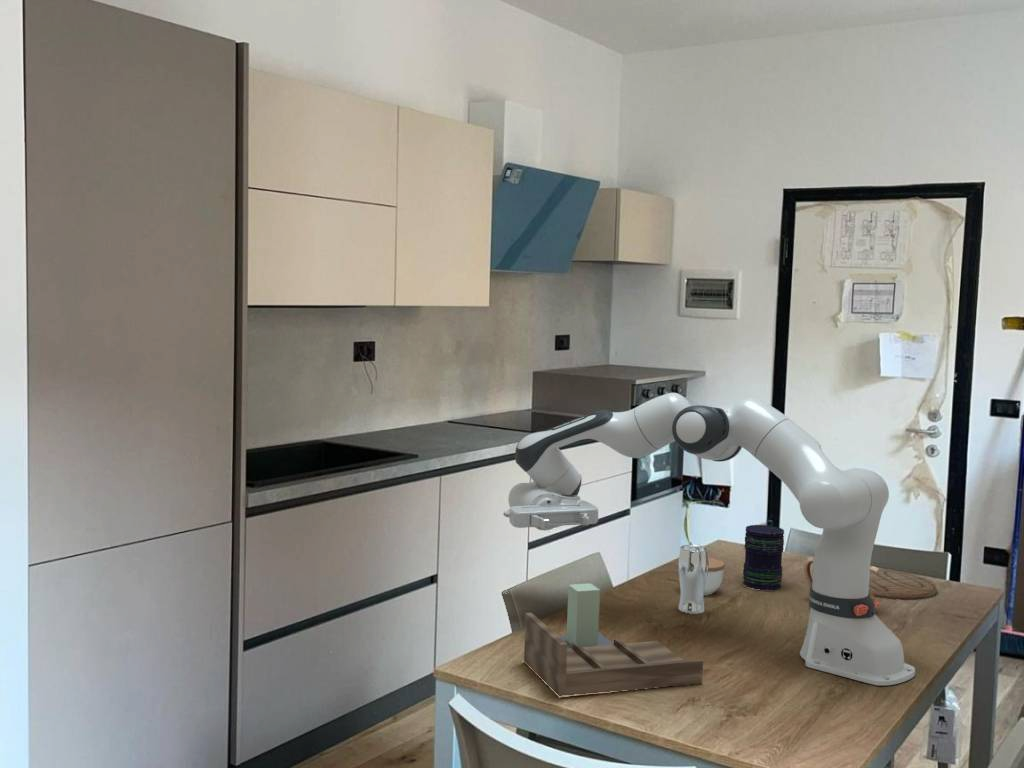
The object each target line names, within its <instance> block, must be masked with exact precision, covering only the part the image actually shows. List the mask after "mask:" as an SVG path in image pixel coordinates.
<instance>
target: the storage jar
mask: <svg viewBox="0 0 1024 768" xmlns="http://www.w3.org/2000/svg"><path fill="white" fill-rule="evenodd" d="M784 534H785V530H784V529H783V528H781V527H779V526H773V525H767V524H765V525H764V524H750V525H747V526H745V537H744V546H743V547H744V550H745V555H744V563H743V569H742V576H743V577H742V578H743V581H742V585H743V584H744V585H746V586H747V587H750V588H754V589H760V590H777V589H780V588H781V589H782V584H781V583H782V580H783V566H782V561H783V560H782V558H783V553H784V550H785V548H784V545H785V538H784V537H785V536H784ZM744 585H743V586H744ZM747 587H746V588H747ZM781 589H780V590H781ZM777 591H778V590H777Z"/></svg>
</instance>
